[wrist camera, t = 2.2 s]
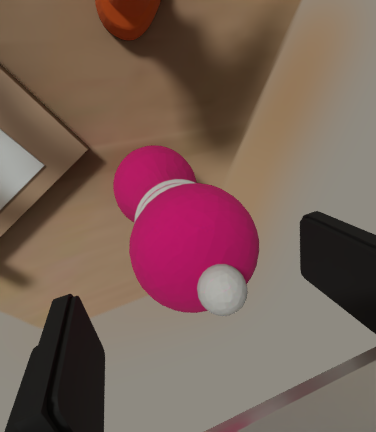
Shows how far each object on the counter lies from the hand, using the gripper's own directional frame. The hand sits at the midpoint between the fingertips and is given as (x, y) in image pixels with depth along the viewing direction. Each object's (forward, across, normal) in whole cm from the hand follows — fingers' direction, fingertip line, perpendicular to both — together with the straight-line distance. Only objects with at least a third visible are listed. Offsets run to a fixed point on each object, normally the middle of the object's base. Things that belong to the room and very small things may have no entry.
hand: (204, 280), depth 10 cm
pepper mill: (+18, -1, -1) cm, 18 cm away
